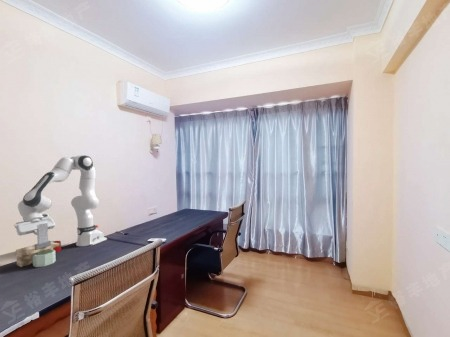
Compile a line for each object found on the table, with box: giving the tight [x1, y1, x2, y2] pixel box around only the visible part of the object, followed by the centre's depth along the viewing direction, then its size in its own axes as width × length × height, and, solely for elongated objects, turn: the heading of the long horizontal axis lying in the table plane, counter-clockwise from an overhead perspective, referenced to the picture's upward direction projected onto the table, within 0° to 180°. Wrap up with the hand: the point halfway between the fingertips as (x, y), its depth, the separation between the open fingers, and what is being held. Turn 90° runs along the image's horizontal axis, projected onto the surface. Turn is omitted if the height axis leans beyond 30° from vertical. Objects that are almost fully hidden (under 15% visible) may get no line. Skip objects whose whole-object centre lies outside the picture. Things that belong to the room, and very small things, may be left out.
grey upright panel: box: [34, 223, 52, 249], centre depth 148 cm, size 8×2×15 cm, turn 153°
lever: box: [51, 240, 62, 254], centre depth 166 cm, size 18×9×7 cm, turn 169°
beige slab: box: [15, 241, 59, 268], centre depth 151 cm, size 18×14×10 cm
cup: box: [32, 249, 57, 268], centre depth 148 cm, size 11×11×7 cm
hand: (41, 235), depth 149 cm, fingers closed
